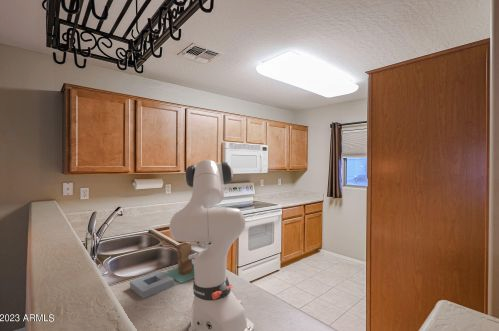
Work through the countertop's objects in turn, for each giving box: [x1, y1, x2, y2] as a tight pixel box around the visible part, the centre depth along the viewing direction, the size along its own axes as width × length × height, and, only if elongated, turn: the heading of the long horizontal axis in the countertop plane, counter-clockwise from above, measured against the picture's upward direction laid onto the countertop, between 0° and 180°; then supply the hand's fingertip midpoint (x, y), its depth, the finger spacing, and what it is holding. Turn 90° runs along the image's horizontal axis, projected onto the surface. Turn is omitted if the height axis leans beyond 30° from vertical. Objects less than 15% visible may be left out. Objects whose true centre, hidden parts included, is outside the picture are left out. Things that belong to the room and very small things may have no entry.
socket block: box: [129, 270, 175, 300], centre depth 108 cm, size 14×14×3 cm
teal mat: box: [164, 265, 194, 284], centre depth 121 cm, size 16×14×1 cm
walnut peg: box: [176, 242, 193, 276], centre depth 121 cm, size 5×5×14 cm
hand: (182, 255), depth 120 cm, fingers open, 8 cm apart
